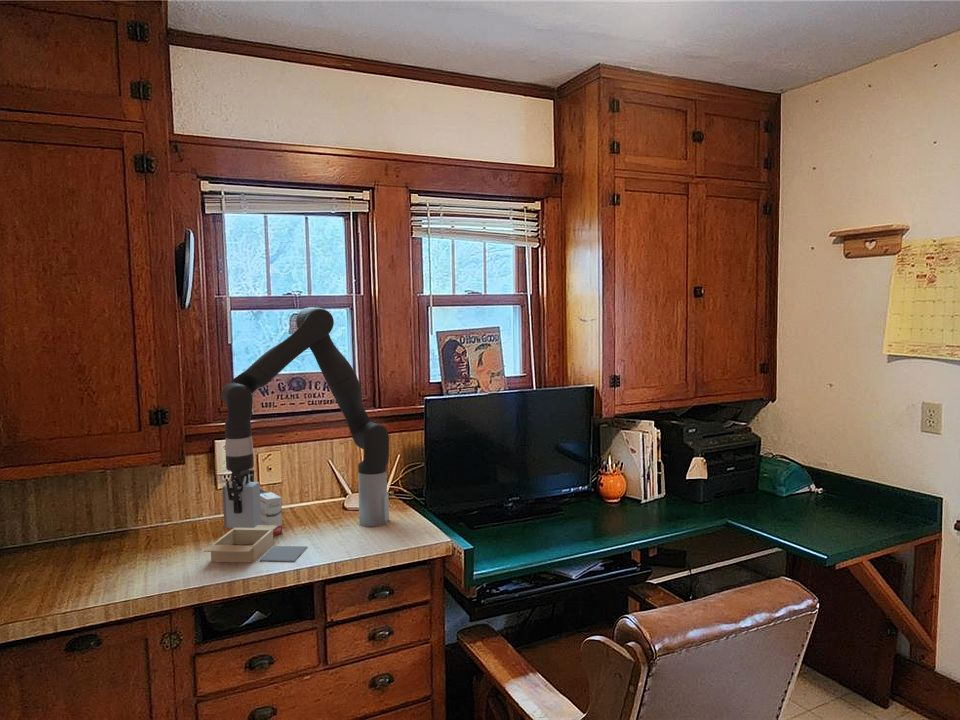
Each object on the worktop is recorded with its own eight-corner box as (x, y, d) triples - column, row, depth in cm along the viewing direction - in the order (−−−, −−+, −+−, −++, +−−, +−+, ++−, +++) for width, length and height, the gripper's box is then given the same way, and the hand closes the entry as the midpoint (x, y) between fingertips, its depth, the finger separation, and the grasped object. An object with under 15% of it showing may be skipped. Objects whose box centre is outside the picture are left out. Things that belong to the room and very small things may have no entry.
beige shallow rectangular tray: (278, 539, 202) (277, 525, 202) (249, 567, 181) (248, 551, 180) (238, 539, 203) (237, 524, 203) (204, 566, 181) (203, 550, 181)
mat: (307, 547, 195) (307, 546, 195) (294, 562, 184) (294, 560, 184) (274, 547, 196) (274, 545, 196) (259, 561, 185) (259, 560, 185)
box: (261, 521, 193) (259, 481, 192) (254, 527, 188) (252, 486, 187) (232, 521, 194) (230, 481, 193) (224, 527, 189) (222, 486, 188)
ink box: (283, 533, 208) (281, 496, 207) (267, 536, 205) (266, 499, 204) (272, 526, 214) (271, 490, 214) (257, 529, 211) (256, 493, 210)
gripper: (241, 458, 182) (244, 518, 184) (261, 446, 196) (264, 502, 198) (215, 458, 183) (218, 518, 184) (237, 446, 197) (240, 502, 198)
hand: (242, 509), depth 191 cm, fingers closed on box, 5 cm apart
